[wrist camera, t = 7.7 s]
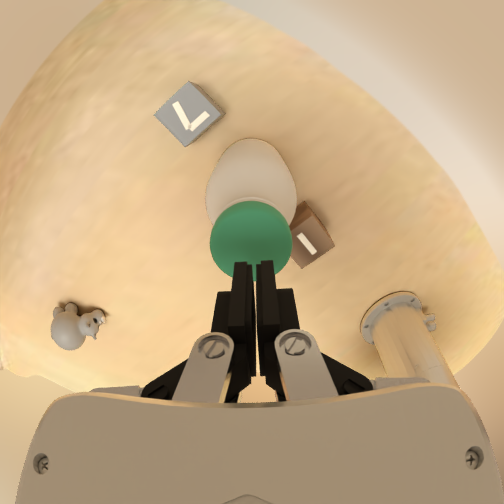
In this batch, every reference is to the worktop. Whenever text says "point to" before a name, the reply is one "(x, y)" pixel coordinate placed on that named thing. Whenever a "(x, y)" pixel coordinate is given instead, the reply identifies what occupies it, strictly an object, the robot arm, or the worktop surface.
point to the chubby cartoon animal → (74, 326)
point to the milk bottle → (250, 206)
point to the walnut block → (308, 236)
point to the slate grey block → (189, 113)
